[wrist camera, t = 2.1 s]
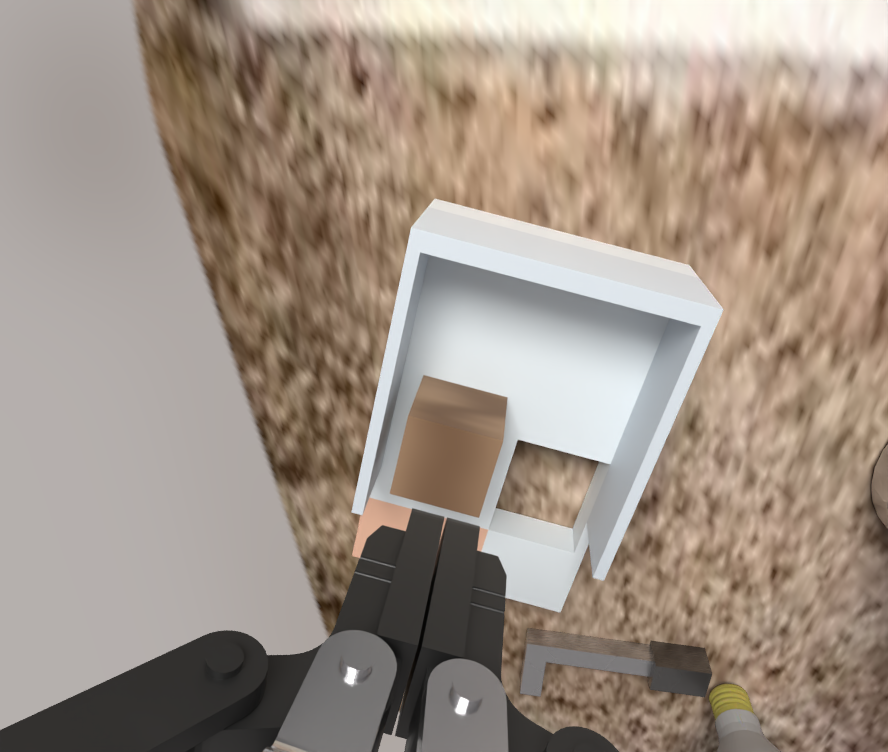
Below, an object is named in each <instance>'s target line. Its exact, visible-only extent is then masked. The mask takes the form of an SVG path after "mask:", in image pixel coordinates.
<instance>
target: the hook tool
mask: <svg viewBox="0 0 888 752" xmlns="http://www.w3.org/2000/svg"><path fill="white" fill-rule="evenodd" d="M546 662H549V663H556V664H563V665H570V666H577V667H584V668H591V669H598V670H605V671H612V672H619V673H626V674H633V675H640V676H647V677H648V682H649V688H650V689H651V690H658V691H665V692H672V693H679V694H686V695H693V696H700V697H705V695H706V692H707V689H708V686H709V683H710V679H711V676H712V672H711V668H710V665H709V661H708V658H707V654H706V651H705V648H700V647H693V646H686V645H678V644H671V643H664V642H656V641H651V642H650V645H649V644H642V643H634V642H627V641H620V640H613V639H605V638H598V637H591V636H583V635H576V634H569V633H561V632H554V631H547V630H539V629H532V628H527V635H526V642H525V649H524V656H523V663H522V670H521V678H520V694H527V695H534V696H541V690H542V683H543V677H544V671H545V665H546Z"/></svg>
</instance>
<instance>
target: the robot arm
mask: <svg viewBox="0 0 888 752" xmlns="http://www.w3.org/2000/svg"><path fill="white" fill-rule="evenodd" d="M871 488H872V501H873V504H874V507H875V509H876V512H877V515H878V517H879V518H880V520H881V521H882V522H883V524H884V525H885V526H886V528H887V529H888V444H887V446H886V447H885V448H884V450H883V451H882V453H881V456H880V458H879V460H878V462H877V464H876V466H875V469H874V474H873V479H872V484H871ZM443 522H444V516H440V515H436V514H433V513H429V512H425V511H421V510H418V509H414V508H412V511H411V515H410V518H409V522H408V525H407V529H406V531H403V530H399V529H395V528H392V527H388V526H384V525H382V526H380V527H379V528H378V529H377V530H376V531H375V532H373V533H372V534H371V535H370V536H369V537H368V538H367V539H366V542H365V545H364V548H363V550H362V553H361V556H360V559H359V562H358V564H357V567H356V570H355V573H354V575H353V578H352V581H351V584H350V586H349V589H348V592H347V595H346V597H345V600H344V603H343V606H342V608H341V611H340V614H339V617H338V619H337V622H336V625H335V628H334V630H333V632H332V633H331V635H330V636H329V638H328V639H327V640H326V641H325V642H324V643H322V644H321V645H320V646H318V647H316V648H314V649H313V650H310V651H307V652H304V653H300V654H294V655H267V654H266V651H265V649H264V648H263V646H262V645H261V644H260V643H259V642H258V641H257V640H256V639H254V638H253V637H251V636H249V635H247V634H245V633H241V632H237V631H218V632H213V633H209V634H207V635H204V636H202V637H200V638H198V639H196V640H193V641H191V642H189V643H187V644H185V645H183V646H180V647H178V648H176V649H174V650H172V651H170V652H168V653H166V654H163V655H161V656H159V657H157V658H155V659H152V660H150V661H148V662H146V663H144V664H142V665H140V666H137V667H136V668H133V669H131V670H129V671H127V672H124V673H122V674H120V675H118V676H116V677H114V678H112V679H110V680H107V681H105V682H103V683H101V684H99V685H96V686H94V687H92V688H90V689H88V690H86V691H84V692H81V693H79V694H77V695H75V696H73V697H71V698H69V699H66V700H64V701H62V702H60V703H58V704H56V705H53V706H51V707H49V708H47V709H45V710H43V711H41V712H38V713H36V714H34V715H32V716H30V717H28V718H26V719H23V720H21V721H19V722H17V723H15V724H13V725H10V726H8V727H6V728H4V729H2V730H0V752H378V749H379V746H380V742H381V739H382V735H383V733H386V734H389V735H392V731H393V728H394V725H395V721H396V718H397V714H398V711H399V708H400V705H401V701H402V698H403V701H402V706H401V710H400V715H399V720H398V725H397V729H396V734H395V736H397V737H401V738H405V739H407V741H406V746H405V751H404V752H619V751H618V750H617V749H616V748H615V747H614V746H613V745H612V744H611V743H610V742H609V741H608V740H607V739H606V738H604V737H603V736H601V735H600V734H598V733H596V732H594V731H592V730H589V729H587V728H583V727H574V726H572V727H566V728H563V729H560V730H559V731H557V732H555V733H554V734H552V733H550V732H548V731H547V730H545V729H544V728H542V727H540V726H539V725H537V724H535V723H534V722H532V721H530V720H529V719H528V718H526V717H525V716H524V715H522V714H521V713H520V712H519V711H518V710H517V709H516V708H515V707H514V706H513V704H512V703H511V702H510V700H509V699H508V697H507V695H506V693H505V691H504V688H503V685H502V681H501V663H502V646H503V630H504V611H505V595H506V580H507V575H506V573H505V571H504V568H503V566H502V564H501V561H500V559H499V557H498V556H496V555H492V554H488V553H485V552H481V551H477V547H478V539H479V531H480V526H478V525H474V524H470V523H467V522H463V521H459V520H455V519H452V518H448V517H447V519H446V522H445V526H444V529H443V533H442V536H441V532H442V527H443ZM440 537H441V539H440ZM439 542H440V543H439ZM404 691H405V692H404ZM403 694H404V696H403Z"/></svg>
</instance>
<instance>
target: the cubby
mask: <svg viewBox="0 0 888 752" xmlns="http://www.w3.org/2000/svg"><path fill="white" fill-rule="evenodd" d="M723 310H724V309H723V308H722V307H721V306H720V304H719V303H718V302H717V300H716V299H715V298H714V296H713V295H712V294H711V293H710V291H709V290H708V289H707V287H706V286H705V285H704V284H703V282H702V281H701V280H700V278H699V277H698V276H697V274H696V273H695V272H694V271H693V269H692V268H691V267H690V265H687V264H683V263H679V262H675V261H672V260H668V259H664V258H660V257H656V256H652V255H649V254H645V253H641V252H637V251H633V250H630V249H626V248H622V247H618V246H614V245H610V244H607V243H603V242H599V241H595V240H591V239H587V238H584V237H580V236H576V235H572V234H568V233H565V232H561V231H557V230H553V229H549V228H545V227H542V226H538V225H534V224H530V223H526V222H522V221H519V220H515V219H511V218H507V217H503V216H500V215H496V214H492V213H488V212H484V211H480V210H477V209H473V208H469V207H465V206H461V205H457V204H454V203H450V202H446V201H442V200H438V199H434V200H433V201H432V203H431V204H430V205H429V206H428V208H427V209H426V210H425V211H424V212H423V214H422V215H421V216H420V217H419V219H418V220H417V221H416V222H415V224H414V225H413V226H412V227H411V231H410V236H409V241H408V246H407V250H406V255H405V260H404V265H403V269H402V274H401V279H400V284H399V288H398V293H397V298H396V303H395V308H394V312H393V317H392V322H391V327H390V331H389V336H388V341H387V346H386V350H385V355H384V360H383V365H382V370H381V374H380V379H379V384H378V389H377V393H376V398H375V403H374V408H373V412H372V417H371V422H370V427H369V431H368V436H367V441H366V446H365V451H364V455H363V460H362V465H361V470H360V474H359V479H358V484H357V489H356V493H355V498H354V503H353V508H352V513H356V514H360V515H361V517H360V521H359V526H358V530H357V535H356V540H355V544H354V549H353V553H352V556H354V557H358V558H360V556H361V553H362V550H363V548H364V545H365V542H366V539H367V538H368V537H369V536H370V535H371V534H372V533H373V532H375V531H376V530H377V529H378V528H379V527H380V526H382V525H384V526H388V527H392V528H395V529H399V530H403V531H406V529H407V525H408V522H409V518H410V515H411V511H412V508H414V509H418V510H421V511H425V512H429V513H433V514H436V515H440V516H444V522H443V527H442V532H441V536H442V533H443V529H444V526H445V522H446V519H447V517H448V518H452V519H455V520H459V521H463V522H467V523H470V524H474V525H478V526H480V531H479V539H478V547H477V551H481V552H485V553H488V554H492V555H496V556H498V557H499V559H500V561H501V564H502V566H503V568H504V571H505V573H506V575H507V580H506V595H505V598H508V599H512V600H516V601H519V602H523V603H527V604H530V605H534V606H538V607H541V608H545V609H549V610H552V611H556V612H561V610H562V607H563V605H564V602H565V600H566V598H567V595H568V593H569V590H570V588H571V586H572V583H573V581H574V578H575V576H576V573H577V571H578V569H579V566H580V564H581V561H582V559H583V557H584V554H585V552H586V549H587V547H588V545H589V548H590V557H591V566H592V576H593V578H595V579H599V580H603V581H604V579H605V577H606V575H607V572H608V570H609V568H610V565H611V563H612V561H613V559H614V556H615V554H616V552H617V550H618V547H619V545H620V543H621V541H622V538H623V536H624V534H625V532H626V529H627V527H628V525H629V522H630V520H631V518H632V516H633V513H634V511H635V509H636V507H637V504H638V502H639V500H640V498H641V495H642V493H643V491H644V489H645V486H646V484H647V482H648V479H649V477H650V475H651V473H652V470H653V468H654V466H655V464H656V461H657V459H658V457H659V455H660V452H661V450H662V448H663V445H664V443H665V441H666V439H667V436H668V434H669V432H670V430H671V427H672V425H673V423H674V421H675V418H676V416H677V414H678V412H679V409H680V407H681V405H682V402H683V400H684V398H685V396H686V393H687V391H688V389H689V387H690V384H691V382H692V380H693V378H694V375H695V373H696V371H697V368H698V366H699V364H700V362H701V359H702V357H703V355H704V353H705V350H706V348H707V346H708V344H709V341H710V339H711V337H712V335H713V332H714V330H715V328H716V325H717V323H718V321H719V319H720V316H721V314H722V312H723ZM423 375H426V376H429V377H433V378H437V379H441V380H444V381H448V382H452V383H456V384H459V385H463V386H467V387H471V388H474V389H478V390H482V391H486V392H489V393H493V394H497V395H501V396H504V397H508V398H507V408H506V419H505V429H504V439H503V444H502V447H501V450H500V453H499V456H498V459H497V463H496V466H495V469H494V472H493V475H492V478H491V482H490V485H489V488H488V491H487V494H486V497H485V501H484V504H483V507H482V510H481V513H480V516H479V518H477V517H473V516H470V515H466V514H462V513H459V512H455V511H451V510H448V509H444V508H440V507H436V506H433V505H429V504H425V503H422V502H418V501H414V500H411V499H407V498H403V497H400V496H396V495H392V494H390V490H391V486H392V481H393V477H394V473H395V469H396V465H397V460H398V456H399V452H400V448H401V444H402V439H403V435H404V431H405V427H406V422H407V418H408V415H409V412H410V409H411V407H412V404H413V401H414V399H415V396H416V393H417V391H418V388H419V386H420V383H421V380H422V378H423ZM518 440H521V441H525V442H529V443H533V444H536V445H540V446H544V447H548V448H551V449H555V450H559V451H562V452H566V453H570V454H574V455H577V456H581V457H585V458H589V459H592V460H596V461H599V463H598V466H597V468H596V471H595V473H594V476H593V478H592V481H591V483H590V486H589V488H588V491H587V493H586V496H585V498H584V501H583V504H582V506H581V509H580V511H579V514H578V516H577V519H576V521H575V524H574V526H573V529H572V528H568V527H565V526H561V525H557V524H553V523H550V522H546V521H542V520H539V519H535V518H531V517H528V516H524V515H520V514H516V513H513V512H509V511H505V510H502V509H498V508H496V505H497V502H498V499H499V496H500V493H501V490H502V486H503V483H504V480H505V477H506V474H507V471H508V468H509V465H510V462H511V459H512V456H513V453H514V450H515V447H516V444H517V441H518ZM440 539H441V537H440ZM439 543H440V542H439Z"/></svg>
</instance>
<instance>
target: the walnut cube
mask: <svg viewBox="0 0 888 752" xmlns="http://www.w3.org/2000/svg"><path fill="white" fill-rule="evenodd" d="M507 398H508V397H504V396H501V395H497V394H493V393H489V392H486V391H482V390H478V389H474V388H471V387H467V386H463V385H459V384H456V383H452V382H448V381H444V380H441V379H437V378H433V377H429V376H426V375H423V378H422V380H421V383H420V386H419V388H418V391H417V393H416V396H415V399H414V401H413V404H412V407H411V409H410V412H409V415H408V418H407V422H406V427H405V431H404V435H403V439H402V444H401V448H400V452H399V456H398V460H397V465H396V469H395V473H394V477H393V481H392V486H391V490H390V494H392V495H396V496H400V497H403V498H407V499H411V500H414V501H418V502H422V503H425V504H429V505H433V506H436V507H440V508H444V509H448V510H451V511H455V512H459V513H462V514H466V515H470V516H473V517H477V518H479V516H480V513H481V510H482V507H483V504H484V501H485V497H486V494H487V491H488V488H489V485H490V482H491V478H492V475H493V472H494V469H495V466H496V463H497V459H498V456H499V453H500V450H501V447H502V444H503V439H504V429H505V419H506V408H507Z"/></svg>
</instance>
